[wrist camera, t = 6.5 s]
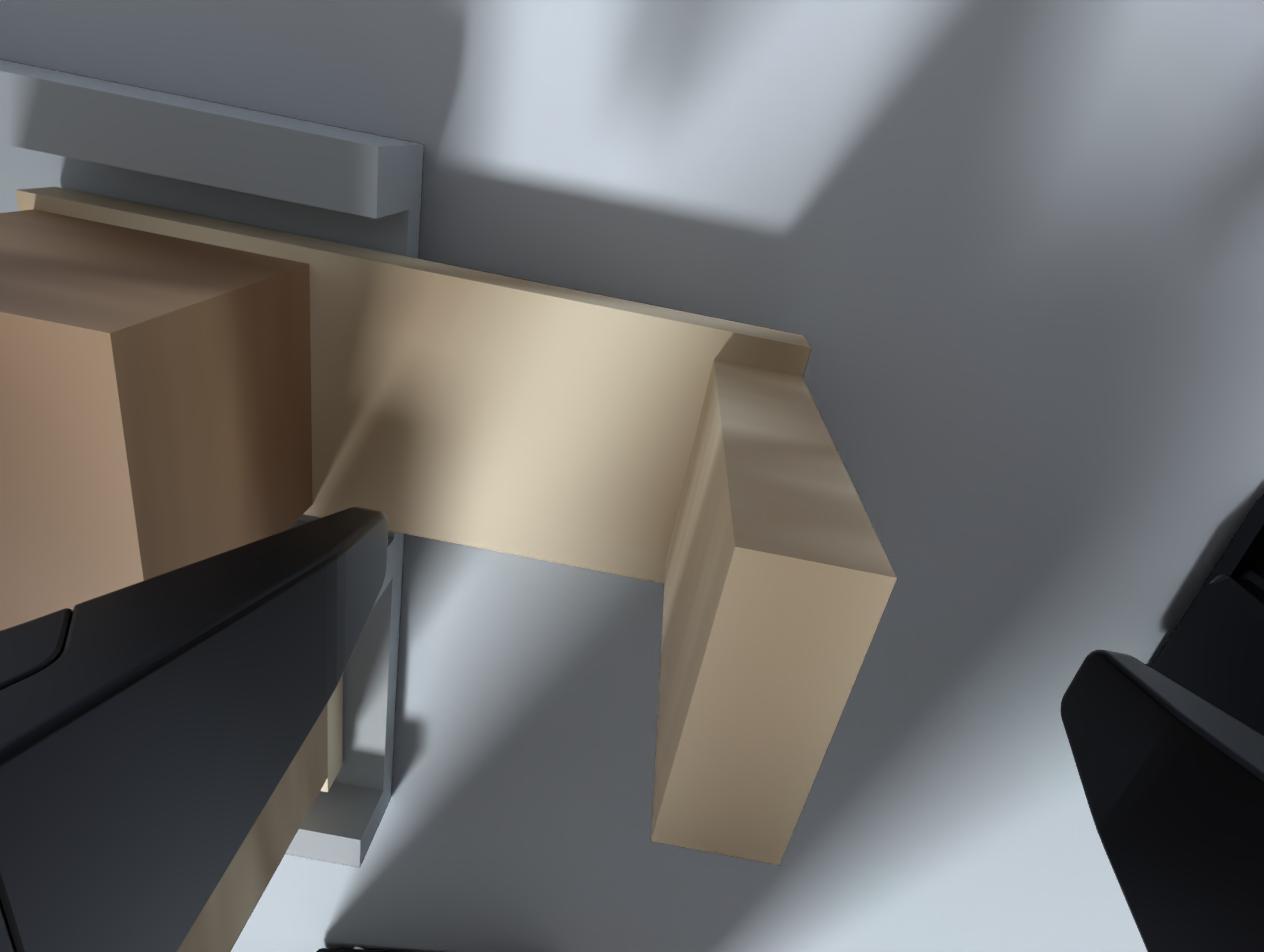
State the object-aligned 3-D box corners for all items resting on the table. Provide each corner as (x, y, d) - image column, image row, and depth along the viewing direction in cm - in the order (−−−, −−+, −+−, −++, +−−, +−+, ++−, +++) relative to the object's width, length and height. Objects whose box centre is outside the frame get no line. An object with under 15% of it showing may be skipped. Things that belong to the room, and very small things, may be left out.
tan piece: (804, 335, 12) (916, 530, 6) (734, 574, 15) (769, 894, 9) (54, 186, 12) (-573, 239, 6) (95, 451, 14) (-339, 685, 8)
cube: (309, 264, 12) (110, 333, 8) (312, 504, 14) (155, 660, 10) (34, 209, 12) (-314, 249, 8) (76, 458, 14) (-183, 597, 10)
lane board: (423, 144, 12) (378, 146, 10) (390, 798, 19) (359, 868, 17) (-467, -35, 12) (-671, -64, 10) (-176, 692, 19) (-267, 751, 17)
